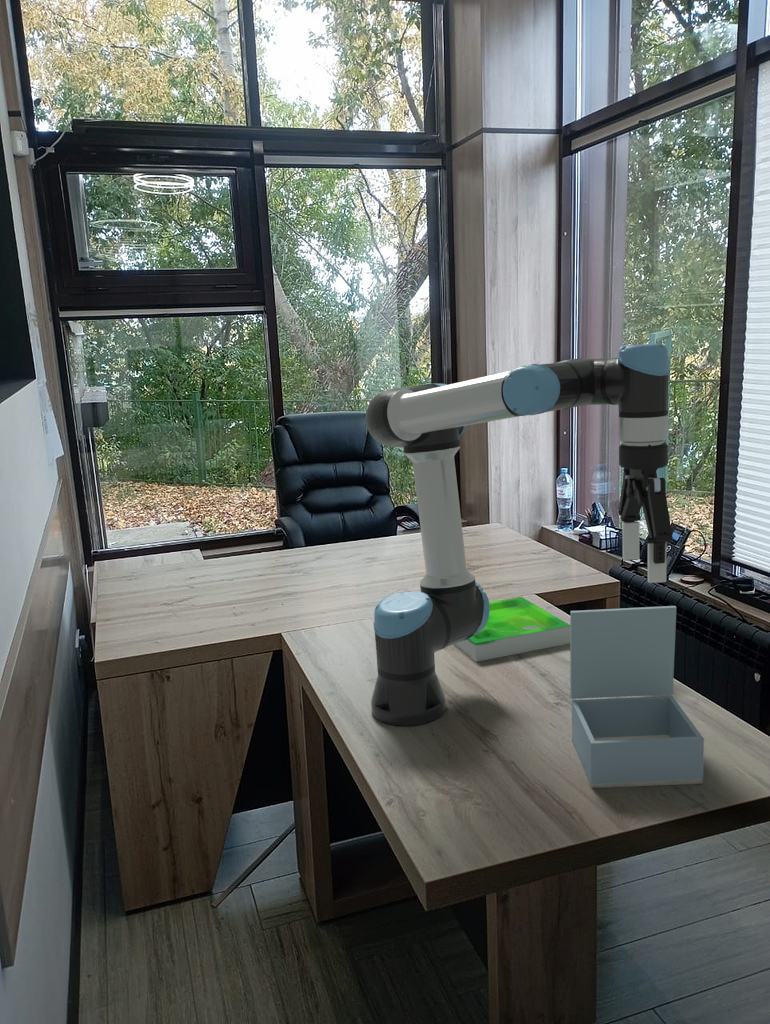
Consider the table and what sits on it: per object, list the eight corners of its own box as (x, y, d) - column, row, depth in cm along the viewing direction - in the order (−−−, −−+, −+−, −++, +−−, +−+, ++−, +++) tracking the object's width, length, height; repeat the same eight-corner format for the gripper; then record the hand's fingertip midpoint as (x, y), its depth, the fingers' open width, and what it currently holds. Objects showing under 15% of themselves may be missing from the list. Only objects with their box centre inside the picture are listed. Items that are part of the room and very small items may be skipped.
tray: (521, 614, 218) (521, 596, 217) (570, 645, 194) (570, 625, 193) (435, 630, 210) (434, 611, 209) (475, 663, 187) (474, 643, 186)
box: (591, 788, 133) (591, 743, 131) (572, 740, 148) (571, 700, 147) (702, 783, 132) (703, 738, 130) (671, 736, 148) (672, 695, 146)
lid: (571, 612, 142) (570, 611, 142) (571, 698, 147) (570, 696, 147) (676, 607, 141) (675, 605, 142) (672, 694, 146) (671, 692, 147)
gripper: (696, 450, 117) (694, 591, 122) (642, 432, 142) (642, 549, 146) (644, 454, 117) (644, 594, 122) (599, 435, 142) (600, 552, 146)
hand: (643, 570), depth 134 cm, fingers open, 13 cm apart
